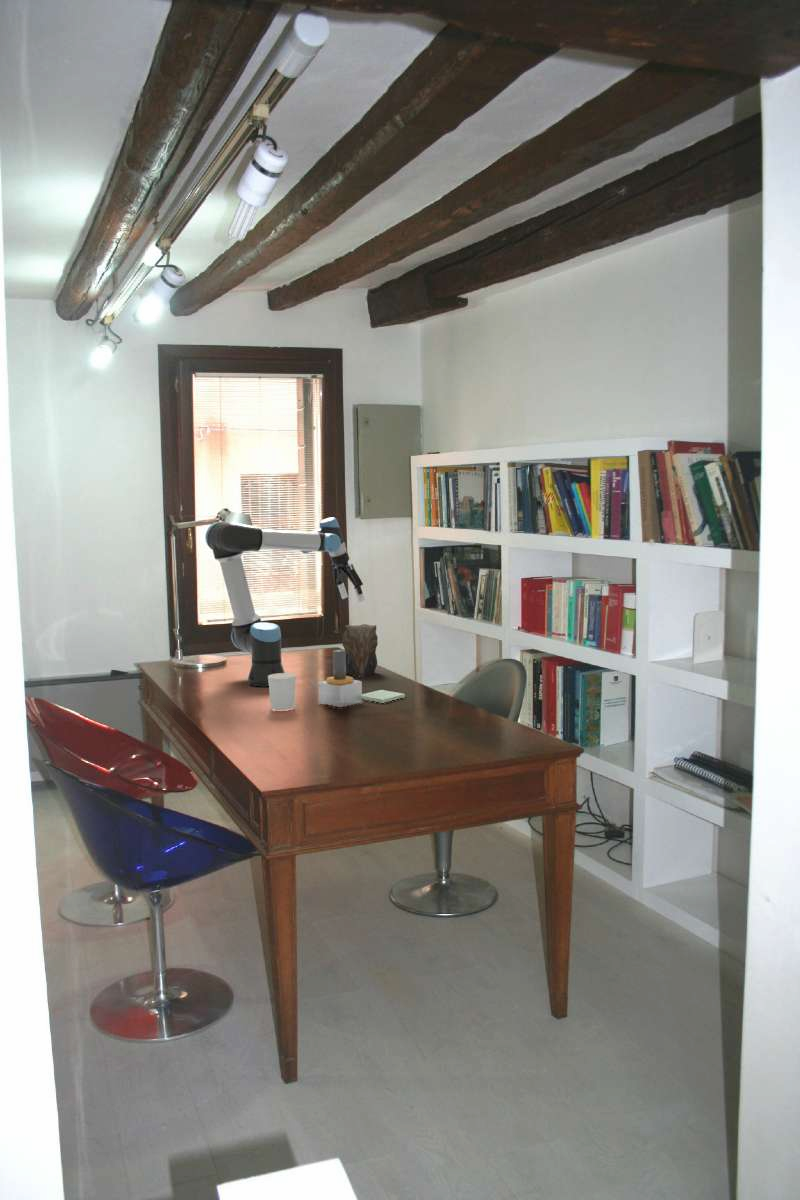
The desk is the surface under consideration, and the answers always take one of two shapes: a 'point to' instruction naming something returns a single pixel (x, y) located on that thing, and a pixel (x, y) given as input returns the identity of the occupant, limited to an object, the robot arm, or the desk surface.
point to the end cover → (339, 669)
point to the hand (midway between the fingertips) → (353, 599)
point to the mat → (382, 696)
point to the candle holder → (282, 690)
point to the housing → (340, 693)
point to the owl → (360, 649)
